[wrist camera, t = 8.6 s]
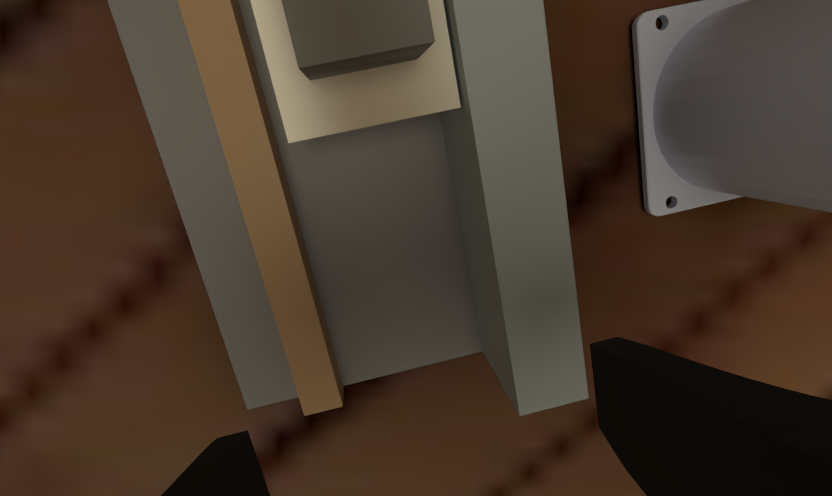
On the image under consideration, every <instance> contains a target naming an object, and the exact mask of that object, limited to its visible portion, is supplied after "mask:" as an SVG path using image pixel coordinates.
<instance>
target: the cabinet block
mask: <svg viewBox="0 0 832 496" xmlns="http://www.w3.org/2000/svg"><path fill="white" fill-rule="evenodd" d="M250 1H251V5H252V9H253V13H254V16H255V20H256V24H257V28H258V31H259V35H260V39H261V43H262V46H263V50H264V54H265V57H266V61H267V65H268V69H269V72H270V76H271V80H272V84H273V87H274V91H275V95H276V99H277V102H278V106H279V110H280V114H281V117H282V121H283V125H284V129H285V132H286V136H287V140H288V143H292V142H297V141H302V140H307V139H312V138H316V137H321V136H326V135H331V134H336V133H341V132H345V131H350V130H355V129H360V128H365V127H369V126H374V125H379V124H384V123H389V122H393V121H398V120H403V119H408V118H413V117H417V116H422V115H427V114H432V113H437V112H441V111H446V110H451V109H456V108H461V105H460V99H459V93H458V87H457V81H456V75H455V69H454V63H453V57H452V51H451V45H450V39H449V33H448V27H447V21H446V15H445V9H444V3H443V0H250Z"/></svg>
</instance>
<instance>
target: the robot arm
mask: <svg viewBox="0 0 832 496" xmlns="http://www.w3.org/2000/svg"><path fill="white" fill-rule="evenodd" d="M657 18H659V19H661V21H662V27H661V29H660V30H659V29H657V28H656V24H655V23H656V19H657ZM632 37H633V51H634V66H635V80H636V95H637V109H638V124H639V138H640V153H641V167H642V182H643V196H644V207H645V210H646V212H647V213H648V214H651V215H654V216H663V215H667V214H671V213H676V212H680V211H684V210H689V209H693V208H697V207H701V206H706V205H710V204H714V203H718V202H723V201H727V200H731V199H736V198H740V197H750V198H755V199H761V200H766V201H771V202H777V203H782V204H788V205H793V206H799V207H804V208H810V209H815V210H820V211H826V212H831V213H832V0H702V1H697V2H692V3H687V4H682V5H677V6H671V7H666V8H661V9H656V10H651V11H647V12H645V13H642V14H640V15H638V16H637V17H636V18H635V20H634V22H633V24H632ZM668 197H671V203H670V204H669V205H668V206H667V207H666V200H667V198H668ZM590 350H591V359H592V368H593V377H594V386H595V395H596V404H597V413H598V423H599V427H600V429H601V431H602V432H603V434H604V436H605V437H606V439H607V441H608V442H609V444H610V445H611V447H612V449H613V450H614V452H615V453H616V455H617V456H618V458H619V460H620V461H621V463H622V464H623V466H624V467H625V469H626V470H627V471H628V473H629V474H630V475H631V476H632V478H633V479H634V480H635V481H636V483H637V484H638V485H639V486H640V488H641V489H642V490H643V491H644V493H645V494H646V495H647V496H832V400H829V399H824V398H820V397H815V396H811V395H807V394H803V393H799V392H795V391H791V390H787V389H784V388H780V387H777V386H773V385H770V384H766V383H762V382H759V381H755V380H752V379H748V378H745V377H742V376H738V375H735V374H732V373H729V372H725V371H722V370H719V369H716V368H713V367H710V366H707V365H704V364H701V363H698V362H695V361H692V360H689V359H686V358H683V357H680V356H677V355H674V354H671V353H668V352H665V351H662V350H659V349H656V348H653V347H650V346H647V345H644V344H641V343H637V342H634V341H631V340H627V339H623V338H619V337H616V338H612V339H608V340H604V341H600V342H596V343H592V344H590ZM161 496H270V494H269V491H268V488H267V485H266V482H265V479H264V476H263V474H262V471H261V468H260V465H259V462H258V459H257V456H256V453H255V450H254V448H253V445H252V442H251V439H250V436H249V433H248V431H244V432H240V433H236V434H232V435H228V436H224V437H220V438H217V439H216V440H215V441H213V442H212V443H211V444H210V445H209V446H208V447H207V448H206V449H205V450H204V451H203V452H202V453H201V454H200V455H199V456H198V457H197V458H196V459H195V460H194V461H193V462H192V464H191V465H190V466H189V467H188V468H187V469H186V470H185V471H184V472H183V473H182V474H181V475H180V476H179V477H178V478H177V480H176V481H175V482H174V483H173V484H172V485H171V486H170V487H169V488H168V489H167V490H166V491H165V492H164V493H163V494H162V495H161Z"/></svg>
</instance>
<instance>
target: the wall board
mask: <svg viewBox="0 0 832 496" xmlns="http://www.w3.org/2000/svg"><path fill="white" fill-rule="evenodd" d="M107 1H108V3H109V6H110V9H111V12H112V15H113V18H114V21H115V24H116V27H117V30H118V33H119V36H120V39H121V41H122V44H123V47H124V50H125V53H126V56H127V59H128V62H129V65H130V68H131V71H132V74H133V77H134V80H135V82H136V85H137V88H138V91H139V94H140V97H141V100H142V103H143V106H144V109H145V112H146V115H147V118H148V120H149V123H150V126H151V129H152V132H153V135H154V138H155V141H156V144H157V147H158V150H159V153H160V156H161V158H162V161H163V164H164V167H165V170H166V173H167V176H168V179H169V182H170V185H171V188H172V191H173V194H174V197H175V199H176V202H177V205H178V208H179V211H180V214H181V217H182V220H183V223H184V226H185V229H186V232H187V235H188V237H189V240H190V243H191V246H192V249H193V252H194V255H195V258H196V261H197V264H198V267H199V270H200V273H201V275H202V278H203V281H204V284H205V287H206V290H207V293H208V296H209V299H210V302H211V305H212V308H213V311H214V314H215V316H216V319H217V322H218V325H219V328H220V331H221V334H222V337H223V340H224V343H225V346H226V349H227V352H228V354H229V357H230V360H231V363H232V366H233V369H234V372H235V375H236V378H237V381H238V384H239V387H240V390H241V392H242V395H243V398H244V401H245V404H246V407H247V410H248V409H252V408H256V407H260V406H264V405H269V404H273V403H277V402H281V401H285V400H289V399H293V398H297V397H299V400H300V403H301V406H302V410H303V413H304V416H306V415H310V414H314V413H318V412H322V411H326V410H330V409H334V408H338V407H342V406H343V386H345V385H349V384H353V383H357V382H361V381H365V380H369V379H373V378H377V377H381V376H385V375H389V374H393V373H397V372H401V371H405V370H409V369H413V368H417V367H421V366H425V365H429V364H433V363H437V362H441V361H445V360H449V359H454V358H458V357H462V356H466V355H470V354H474V353H478V352H482V351H483V353H484V355H485V357H486V358H487V360H488V362H489V364H490V365H491V367H492V369H493V370H494V372H495V374H496V376H497V377H498V379H499V381H500V383H501V384H502V386H503V388H504V389H505V391H506V393H507V395H508V396H509V398H510V400H511V402H512V403H513V405H514V407H515V408H516V410H517V412H518V414H519V415H520V416H522V415H526V414H530V413H534V412H538V411H542V410H545V409H549V408H553V407H557V406H561V405H565V404H568V403H572V402H576V401H580V400H584V399H588V398H589V397H588V389H587V380H586V371H585V362H584V354H583V345H582V336H581V327H580V319H579V310H578V301H577V292H576V284H575V275H574V266H573V257H572V249H571V240H570V231H569V222H568V214H567V205H566V196H565V188H564V179H563V170H562V161H561V153H560V144H559V135H558V126H557V118H556V109H555V100H554V91H553V83H552V74H551V65H550V56H549V48H548V39H547V30H546V21H545V13H544V4H543V0H443V3H444V9H445V15H446V21H447V27H448V33H449V39H450V45H451V51H452V57H453V63H454V69H455V75H456V81H457V87H458V93H459V99H460V105H461V108H456V109H451V110H446V111H441V112H437V113H432V114H427V115H422V116H417V117H413V118H408V119H403V120H398V121H393V122H389V123H384V124H379V125H374V126H369V127H365V128H360V129H355V130H350V131H345V132H341V133H336V134H331V135H326V136H321V137H316V138H312V139H307V140H302V141H297V142H292V143H288V140H287V136H286V132H285V129H284V125H283V121H282V117H281V114H280V110H279V106H278V102H277V99H276V95H275V91H274V87H273V84H272V80H271V76H270V72H269V69H268V65H267V61H266V57H265V54H264V50H263V46H262V43H261V39H260V35H259V31H258V28H257V24H256V20H255V16H254V13H253V9H252V5H251V1H250V0H107Z"/></svg>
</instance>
